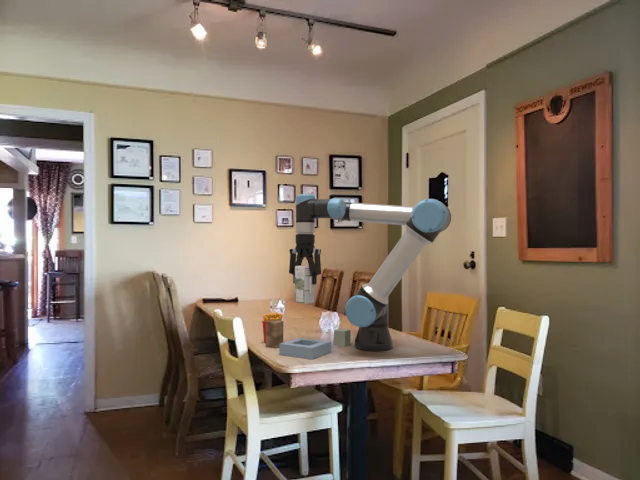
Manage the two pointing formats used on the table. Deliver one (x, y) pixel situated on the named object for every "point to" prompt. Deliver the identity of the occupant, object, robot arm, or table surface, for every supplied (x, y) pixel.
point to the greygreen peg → (342, 337)
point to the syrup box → (303, 285)
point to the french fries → (269, 318)
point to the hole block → (305, 348)
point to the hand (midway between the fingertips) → (304, 292)
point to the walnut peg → (274, 333)
